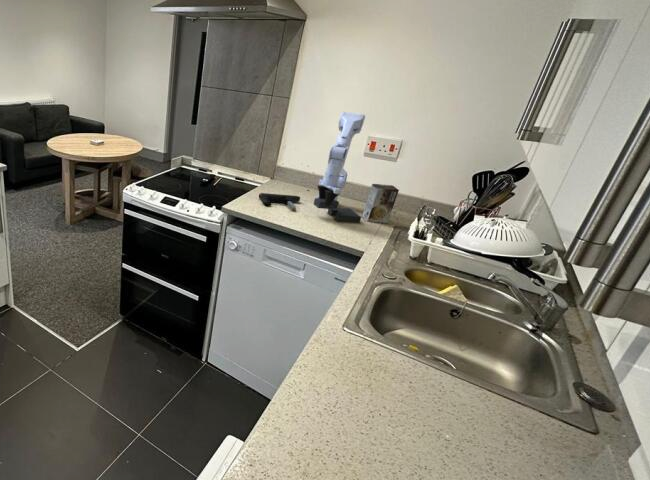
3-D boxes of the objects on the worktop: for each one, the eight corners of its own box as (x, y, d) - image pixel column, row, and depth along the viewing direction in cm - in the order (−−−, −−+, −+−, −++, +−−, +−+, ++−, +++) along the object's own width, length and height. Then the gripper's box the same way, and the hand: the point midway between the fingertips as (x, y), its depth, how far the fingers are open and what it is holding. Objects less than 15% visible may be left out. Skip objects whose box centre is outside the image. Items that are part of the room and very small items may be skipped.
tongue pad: (313, 204, 177) (315, 198, 176) (333, 205, 178) (334, 199, 177) (318, 208, 173) (320, 201, 171) (338, 209, 173) (340, 203, 172)
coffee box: (381, 218, 182) (392, 185, 175) (387, 223, 176) (400, 189, 169) (361, 216, 182) (372, 183, 176) (367, 221, 176) (378, 187, 170)
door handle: (309, 207, 180) (298, 194, 194) (266, 204, 180) (258, 191, 194) (307, 214, 181) (296, 200, 196) (264, 210, 181) (256, 197, 196)
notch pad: (327, 213, 182) (328, 207, 181) (347, 214, 183) (349, 208, 182) (337, 221, 173) (339, 215, 172) (359, 223, 174) (361, 216, 172)
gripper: (316, 169, 175) (308, 197, 181) (331, 178, 162) (323, 209, 168) (331, 170, 176) (323, 198, 181) (347, 179, 163) (338, 210, 168)
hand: (324, 203), depth 175 cm, fingers closed on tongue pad, 5 cm apart
